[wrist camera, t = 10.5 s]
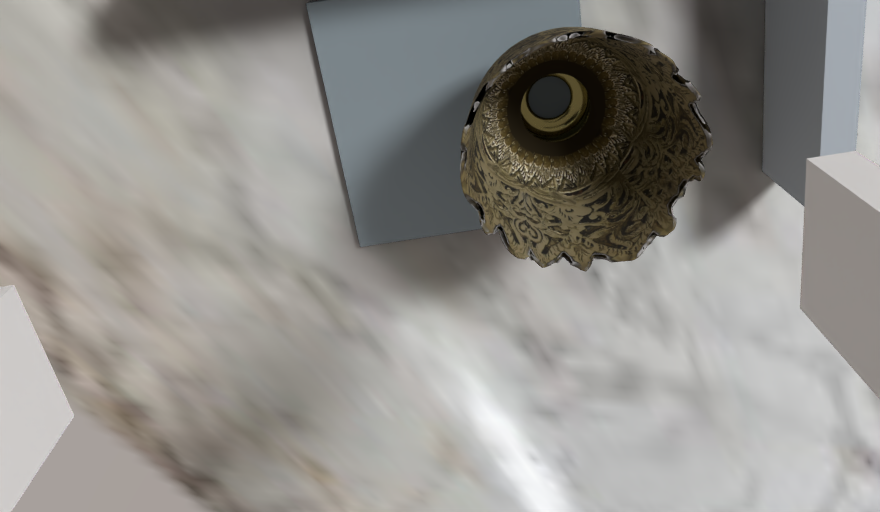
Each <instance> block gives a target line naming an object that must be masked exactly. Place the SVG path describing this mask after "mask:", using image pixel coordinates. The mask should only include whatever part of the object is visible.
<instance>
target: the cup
mask: <svg viewBox="0 0 880 512" xmlns="http://www.w3.org/2000/svg"><path fill="white" fill-rule="evenodd" d="M678 71H679V69H678V68H677V67H676V65H675V63H674V62H673V60H672V59H670V58H669V57H668V56H666V55H665V54H663V53H661V52H660V51H659V50H658V49H657V48H653V46H652V45H651V44H649V43H647V42H645V41H642V40H639V39H636V38H633V37H630V36H626V35H622V34H617V33H612V32H608V31H603V30H598V29H593V28H585V27H561V28H554V29H550V30H546V31H542V32H539V33H536V34H534V35H531V36H529V37H527V38H525V39H523V40H521V41H519V42H518V43H516V44H515V45H513V46H512V47H510V48H509V49H508V50H507V51H506V52H504V53H503V54H502V55H501V56H500V57H499V58H498V59H497V60H496V61H495V62H494V63H493V65H492V66H491V67H490V69H489V70H488V71H487V73H486V74H485V76H484V78H483V79H482V81H481V83H480V85H479V87H478V89H477V91H476V93H475V96H474V99H473V102H472V104H471V107H470V111H469V114H468V117H467V121H466V123H465V125H464V128H463V132H462V138H461V146H460V149H461V161H460V179H461V186H462V190H463V193H464V196H465V198H466V199H467V201H468V202H469V203H470V205H472V206H473V207H474V208H475V209H476V210H477V211H478V214H479V221H480V225H481V227H482V229H483V231H484V233H485V234H487V235H490V234H494V233H496V232H497V231H498V232H499V235H500V237H501V239H502V242H503V243H504V245H505V247H506V249H507V250H508V251H509V252H510V253H511V254H513V255H514V256H515V257H517V258H521V259H527V257H529V258H530V259H531V260H534V261H535V262H536V263H537V264H538V265H539V266H541V267H542V268H545V267H547V266H550V265H551V264H553V263H559V261H560V260H561V259H562V257H564V258H565V259H566V260H567V261H569V262H570V264H571V265H572V266H575V267H577V268H579V269H580V270H583V271H587V270H588V269H589V267H590V266H591V264H592V261H593V260H594V259H605V260H608V261H609V262H620V261H632V260H635V259H636V258H638V257H639V256H640V255H641V254H642V253H643V252H644V250H645V249H646V248H647V246H648V245H649V244H651V243H652V241H653V240H654V238H655V237H656V236H659V237H665V236H666V235H668V234H669V233H670V232H672V231H673V230H674V229H675V226H676V222H677V220H676V218H675V217H674V215H673V209H672V207H673V206H674V204H675V203H676V201H677V200H678V199H680V198H682V197H683V196H684V194H685V191H686V186H687V184H688V182H689V181H693V180H694V179H695V180H697V181H702V180H703V178H704V175H705V168H704V165H703V163H702V161H701V159H702V157H703V156H705V155H706V154H707V152H709V151H710V150H711V148H712V145H713V142H712V134H711V131H710V128H709V127H708V125H707V123H706V121H705V119H704V118H703V117H702V115H701V114H700V112H699V110H698V108H697V105H696V103H695V102H696V101H699V100H700V98H701V96H700V94H699V92H698V91H697V89H696V88H695V87H694V86H693V85H692V83H691V82H690V81H687V80H685V79H684V78H682V77H681V76H680V75H678V74H677V73H678ZM545 77H557V78H559V79H561V80H563V81H564V82H565V83H566V84H567V86H568V87H569V90H570V95H571V97H570V103H569V105H568V107H567V109H566V110H565V111H564V112H563V113H562V114H561V115H559V116H557V117H554V118H543V117H540V116H538V115H536V114H535V113H534V112H533V111H532V109H531V107H530V105H529V100H528V99H529V92H530V90H531V88H532V86H533V85H534V84H535V83H536V82H537V81H538V80H540V79H542V78H545ZM496 229H497V230H496Z"/></svg>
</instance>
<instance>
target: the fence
mask: <svg viewBox="0 0 880 512" xmlns="http://www.w3.org/2000/svg"><path fill="white" fill-rule="evenodd" d="M866 3H867V0H766V7H765V59H764V112H763V164H762V172H764V173H765V174H766V175H767V176H768V177H770V178H771V179H772V180H773V181H774V182H776V183H777V184H778V185H779V186H780V187H782V188H783V189H784V190H785V191H786V192H787V193H789V194H790V195H791V196H792V197H793V198H795V199H796V200H797V201H798V202H799V203H801V204H802V205H803V206H804V205H805V182H806V159H807V158H813V157H820V156H826V155H832V154H838V153H845V152H851V151H856V142H857V128H858V114H859V100H860V86H861V72H862V59H863V45H864V31H865V17H866Z"/></svg>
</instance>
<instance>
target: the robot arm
mask: <svg viewBox="0 0 880 512" xmlns="http://www.w3.org/2000/svg"><path fill="white" fill-rule="evenodd" d="M800 309H801V310H802V311H803V312H804V313H805V314H806V315H807V317H808V318H809V319H810V320H811V321H812V322H813V323H814V325H815V326H816V327H817V328H818V329H819V330H820V331H821V333H822V334H823V335H824V336H825V337H826V338H827V339H828V341H829V342H830V343H831V344H832V345H833V346H834V347H835V349H836V350H837V351H838V352H839V353H840V354H841V356H842V357H843V358H844V359H845V360H846V361H847V362H848V364H849V365H850V366H851V367H852V368H853V369H854V370H855V372H856V373H857V374H858V375H859V376H860V377H861V378H862V380H863V381H864V382H865V383H866V384H867V385H868V386H869V388H870V389H871V390H872V391H873V392H874V393H875V394H876V396H877V397H878V398H879V399H880V166H879V165H878V164H876V163H874V162H873V161H871V160H870V159H868V158H866V157H865V156H863V155H862V154H860V153H859V152H857V151H851V152H845V153H838V154H832V155H826V156H820V157H813V158H807V159H806V182H805V205H804V228H803V252H802V275H801V298H800ZM73 417H74V414H73V412H72V410H71V408H70V405H69V403H68V401H67V399H66V397H65V395H64V392H63V390H62V388H61V386H60V384H59V382H58V379H57V377H56V375H55V373H54V371H53V368H52V366H51V364H50V362H49V360H48V358H47V355H46V353H45V351H44V349H43V347H42V345H41V342H40V340H39V338H38V336H37V334H36V332H35V329H34V327H33V325H32V323H31V321H30V319H29V316H28V314H27V312H26V310H25V308H24V306H23V303H22V301H21V299H20V297H19V295H18V292H17V290H16V288H15V286H14V285H10V286H4V287H0V512H12V510H13V509H14V507H15V506H16V504H17V503H18V501H19V499H20V498H21V496H22V495H23V493H24V492H25V490H26V489H27V487H28V486H29V484H30V482H31V481H32V479H33V478H34V477H35V475H36V474H37V472H38V470H39V469H40V467H41V466H42V464H43V463H44V461H45V460H46V458H47V457H48V455H49V454H50V452H51V451H52V449H53V448H54V446H55V445H56V443H57V442H58V440H59V438H60V437H61V435H62V434H63V432H64V431H65V429H66V427H67V426H68V425H69V423H70V422H71V420H72V419H73Z"/></svg>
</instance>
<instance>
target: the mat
mask: <svg viewBox="0 0 880 512" xmlns="http://www.w3.org/2000/svg"><path fill="white" fill-rule="evenodd" d="M306 6H307V11H308V15H309V20H310V24H311V29H312V33H313V37H314V42H315V46H316V51H317V55H318V60H319V64H320V69H321V73H322V78H323V82H324V87H325V91H326V96H327V100H328V105H329V109H330V114H331V118H332V123H333V127H334V132H335V136H336V141H337V145H338V150H339V154H340V159H341V163H342V168H343V172H344V177H345V181H346V186H347V190H348V195H349V199H350V204H351V208H352V212H353V217H354V221H355V226H356V230H357V235H358V239H359V244H360V247H364V246H371V245H377V244H384V243H391V242H397V241H404V240H411V239H417V238H424V237H431V236H437V235H444V234H451V233H457V232H464V231H470V230H477V229H482V227H481V225H480V221H479V214H478V211H477V210H476V209H475V208H474V207H473V206H472V205H470V203H469V202H468V201H467V199H466V198H465V196H464V193H463V190H462V186H461V179H460V161H461V149H460V146H461V138H462V132H463V128H464V125H465V123H466V121H467V117H468V114H469V111H470V107H471V104H472V102H473V99H474V96H475V93H476V91H477V89H478V87H479V85H480V83H481V81H482V79H483V78H484V76H485V74H486V73H487V71H488V70H489V69H490V67H491V66H492V65H493V63H494V62H495V61H496V60H497V59H498V58H499V57H500V56H501V55H502V54H503V53H504V52H506V51H507V50H508V49H509V48H510V47H512V46H513V45H515V44H516V43H518V42H519V41H521V40H523V39H525V38H527V37H529V36H531V35H534V34H536V33H539V32H542V31H546V30H550V29H554V28H561V27H581V15H580V2H579V0H320V1H314V2H308V3H306ZM570 97H571V95H570V90H569V87H568V86H567V84H566V83H565V82H564V81H563V80H561V79H559V78H557V77H545V78H542V79H540V80H538V81H537V82H536V83H535V84H534V85H533V86H532V88H531V90H530V92H529V99H528V100H529V105H530V107H531V109H532V111H533V112H534V113H535V114H536V115H538V116H540V117H543V118H554V117H557V116H559V115H561V114H562V113H563V112H564V111H565V110H566V109H567V107H568V105H569V103H570Z"/></svg>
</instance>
